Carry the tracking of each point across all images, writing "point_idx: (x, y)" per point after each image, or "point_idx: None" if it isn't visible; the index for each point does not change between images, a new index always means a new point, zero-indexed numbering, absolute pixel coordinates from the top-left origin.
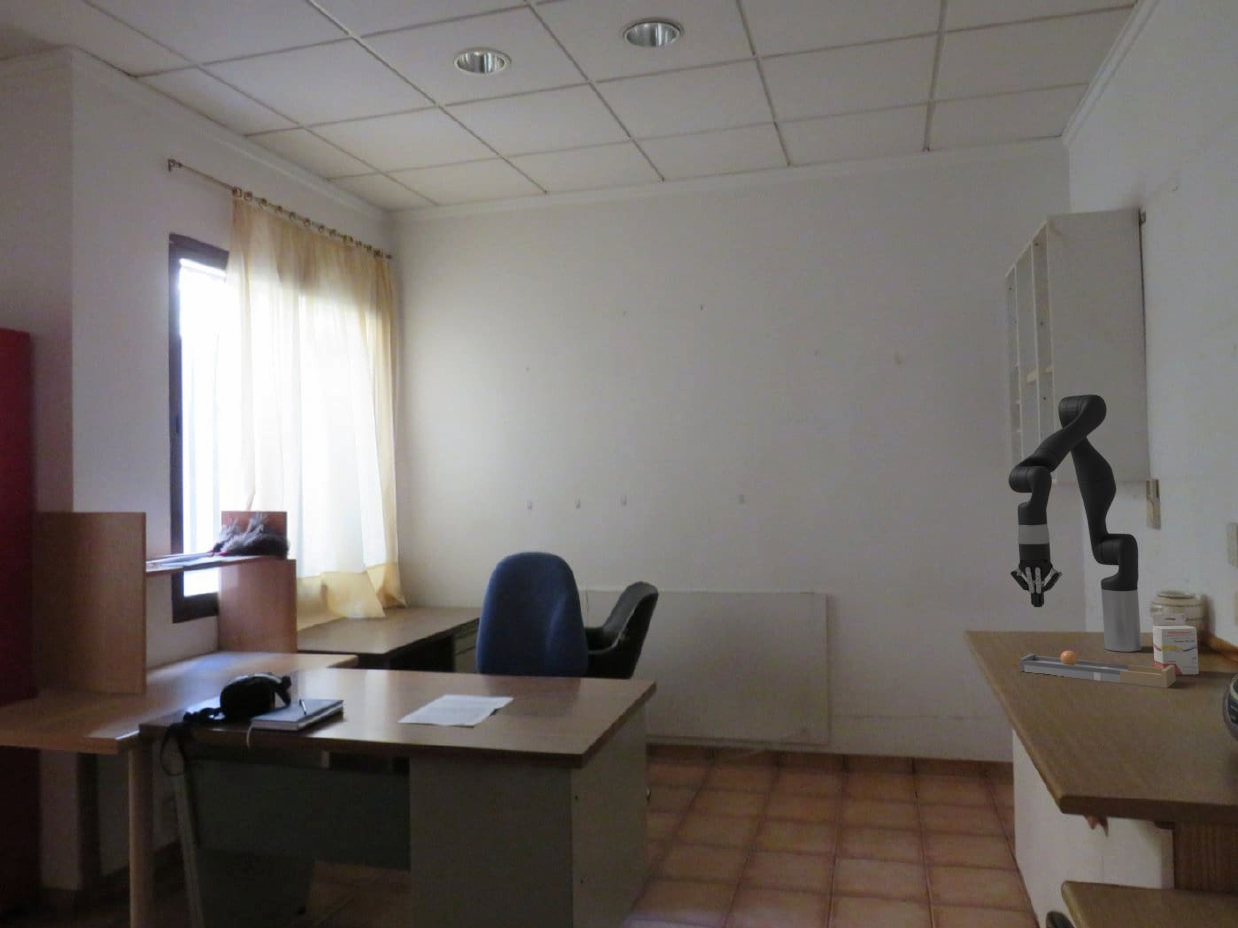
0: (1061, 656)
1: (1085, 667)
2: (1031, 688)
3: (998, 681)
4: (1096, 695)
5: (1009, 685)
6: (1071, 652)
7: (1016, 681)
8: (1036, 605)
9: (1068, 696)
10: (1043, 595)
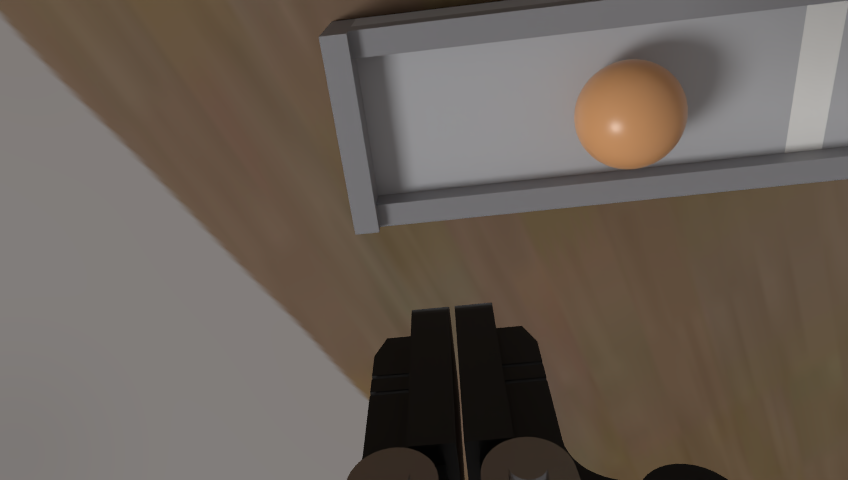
0: (594, 157)
1: (745, 187)
2: None
3: None
4: (817, 404)
5: None
6: (667, 140)
7: None
8: (458, 394)
9: (721, 465)
10: (556, 435)
